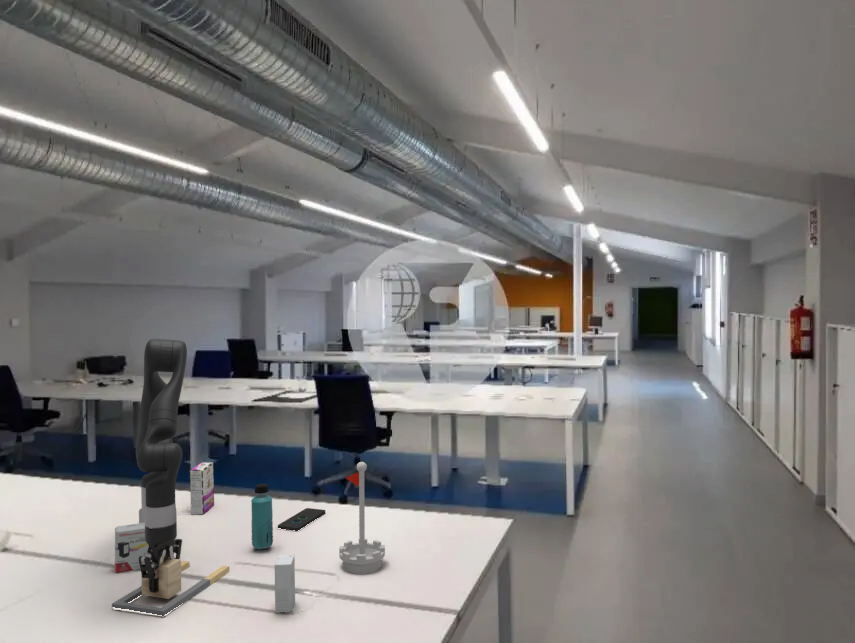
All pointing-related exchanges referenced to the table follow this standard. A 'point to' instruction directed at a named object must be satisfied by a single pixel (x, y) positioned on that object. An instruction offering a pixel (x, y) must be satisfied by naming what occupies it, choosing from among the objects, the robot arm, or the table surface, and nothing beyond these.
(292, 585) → the skincare box
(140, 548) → the ink box
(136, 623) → the table surface
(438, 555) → the table surface
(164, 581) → the wooden block
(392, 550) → the table surface
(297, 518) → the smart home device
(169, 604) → the rail bay
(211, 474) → the candy bar box
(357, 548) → the flag stand
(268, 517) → the beverage bottle
